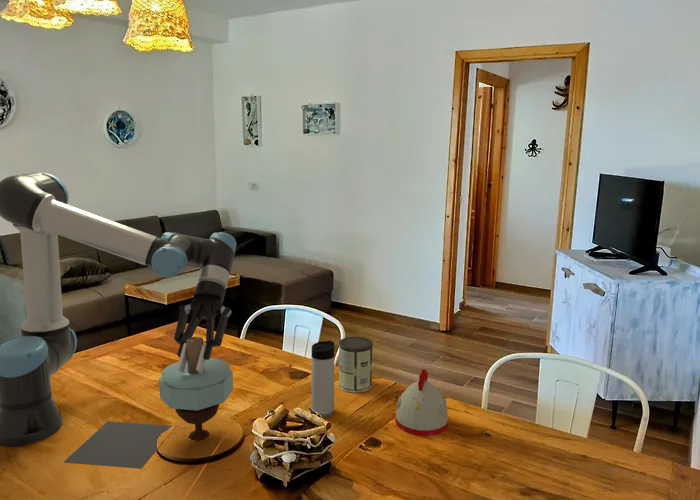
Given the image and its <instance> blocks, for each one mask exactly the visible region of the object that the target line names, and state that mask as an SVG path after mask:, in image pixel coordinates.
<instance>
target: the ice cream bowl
mask: <svg viewBox="0 0 700 500" xmlns="http://www.w3.org/2000/svg"><path fill="white" fill-rule="evenodd" d="M219 406H220V404H217V405H214V406H211V407H207V408H204V409H201V410H185V409H174V410H175V413H176V415H177V416H178V417H179V418H181V419H182V420H183V421H184V422H185V423H187V424H191V425H194V429H195V430H193V431H191V432H190V433H189V434H190V435H189V434H188V437H189V438H190V439H191V440H190V439H189V438H188V439H189V440H190V441H192V440H195V441H194V442H199V441H200V440H201V441H204V439H205V438H206V439H208V438H209V437H210V435H209V433H210V432H209V431H208V430H207V429H203V424H204V423H206V422H208V421H209V420H211V419H213V418H214V416H215V415H217V413H218V410H219ZM208 436H209V437H208ZM207 437H208V438H207ZM206 439H205V440H206ZM201 441H200V442H201Z"/></svg>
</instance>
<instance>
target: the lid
mask: <svg viewBox="0 0 700 500" xmlns="http://www.w3.org/2000/svg"><path fill="white" fill-rule="evenodd" d="M202 344H204V338H203V337H200V336H192V338H189V339H187V340H186V346H187V362H186V366H185V370H184V373H181V372H180V371H179V370H178V369H177V367H178V363H179V361H176V362H174V363H172V364H169V365H168V366H166V367H165V368H164V369H163V370H162V372H161V376H160V378H158V387H159V398H160V400H161V401H162V402H163V403H164V404H165V405H166V406H167V407H168V408H169V409H170V410H171V409H173V410H175V409H185V410H201V409H204V408H207V407H211V406H214V405H217V404H219V405H221V404H224V403H225V402H226V401H227V399H228V397H230V395H231V394H232V392H233V391H234V376H233V374H234V372H233V370H231V369H230V365H229V364H228V363H227V362H226V361H224V360H221V359H218V358H214V357H213V358H212V357H210V359H209V360H206V361H205V365H204V369H203V373H202V374H199V373H198V371H197V370H196V367H197V363H198V360H199V356H200V352H201V348H202Z"/></svg>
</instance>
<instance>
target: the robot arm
mask: <svg viewBox="0 0 700 500" xmlns="http://www.w3.org/2000/svg"><path fill="white" fill-rule="evenodd" d="M69 198H70V197H69V191H68V188H67V187H66V185H65V183H64V182H63V181H62V180H60V178H58V177H57V176H55V175H53V174H50V173H46V172H38V171H36V172H29V173H24V174H15V175H11V176H7V177H5V178H3V179H1V180H0V217H1V218H2V219H4V220H5V221H7V222H8V223H11V224H12V226H13V227H14V228H15V229H16V230H18V232H19V233H20V245H21V258H22V259H21V260H22V271H23V272H22V273H23V284H24V297H25V298H24V299H25V300H24V301H25V312H26V319H25V321H23V323H22V324H21V325H20V332H21V333H20V334H21V336H20V337H16V338H13V340H12V339H11V340H8V341H5V342H4V343H2V344H0V445H2V446H7V447H17V446H26V445H28V444H33V443H36V442H39V441H42V440H44V439H46V438H49V437H51V436H53V435H54V434H56V433H57V432H58V431H59V430H60V429H61V428H62V426H63V417H62V413H61V412H60V411H59V409H58V406H57V404H56V402H55V400H54V398H53V395H52V393H53V392H52V383H51V382H52V381H51V377H52V376H53V375H55V373H56V372H58V370H60V369H61V368H62V367H63V366H65V365H66V364H67V363H68V362H69V361H70V360H71V359H72V356H73V355H74V353H75V352H76V349H77V344H78V341H77V340H78V339H77V335H76V333H75V331H74V330H73V329H71V326H70V320H69V319H68V318H67V317H66V316H64V314H63V313H64V312H63V299H62V298H63V297H62V284H61V283H62V282H61V267H60V264H61V263H60V252H59V251H60V250H59V248H60V247H59V236H61V237H63V238H67V239H69V240H71V241H75V242H78V243H80V244H84V245H87V246H88V247H92V248H95V249H97V250H101V251H104V252H105V253H109V254H112V255H115V256H118V257H121V258H123V259H126V260H129V261H132V262H133V263H134V262H135V263H138V264H141V265H144V266H146V267H149V268H151V269H152V270H153V271H154V272H155V273H156V274H157V275H159V276H160V277H163V278H173V277H175V276H177V275H179V274H180V273H182V272H183V271H185V269H186V267H187V266H188V265H191V266H193V265H194V266H199V267H201V270H200V272H199V273H200V274H199V276H198V280H197V284H196V287H195V291H194V294H193V299H192V300H191V301H190V303H189V304H186V305H184V304H180V305H179V316H178V319H177V320H178V321H177V323H176V329H175V333H174V336H173V339H174V341H175V342H176V344H178V345H179V347H178V350H177V358H179V360H178V362H179V363H178V367H177V369H178V370H179V371H180V372H181V373H184V370H185V366H186V362H187V346H186V340H187V339H189V338H192V337H194V333H195V331H196V330H197V328H198V326H199V324H200V323H201V321H202V320H206V333H205V334H206V335H205V340H204V343H206V344H204V343H203V344H202V348H201V352H200V356H199V360H198V363H197V367H196V370H197V371H198V373H199V374H202V373H203V369H204V365H205V361H206V360H209V359H210V358H211V355H212V352H213V351H212V350H213V349H214V347H221V345H222V342H223V339H224V335H225V333H226V328H227V325H228V321H229V319H230V317H231V316H232V315H233V312H232V310H231V308H230V307H229V306H224V304H223V302H224V300H225V295H226V293H227V292H226V291H227V290H226V289H227V287H228V282H229V279H230V274H231V270H232V267H233V263H234V258H235V254H236V248H237V241H236V239H235V238H234V236H232V235H231V234H229V233H227V232H223V231H220V232H217V231H216V232H213V233H212V234H211V235H210V237H209V238H203V237H202V238H201V237H197V236H192V235H186V234H182V233H179V232H169V231H167V232H164V233H163V234H162V235H161V237H158V236H156V235H153V234H150V233H146V231H145V232H144V231H141V230H138V229H136V228H133V227H131V226H129V225H128V226H127V225H125V224H122V223H119V222H116V221H114V220H111V219H108V218H105V217H103V216H99V215H97V214H95V213H91V212H89V211H86V210H83V209H81V208H78V207H76V206H72V205H70V204H68V203H69ZM191 311H192V313H191V317H190V318H191V319H190V320H189V322H188V318H189V316H188V315H189V314H190V312H191ZM219 314H220V317H219V321H218V324H217V327H216V331H215V323H216V316H217V315H219ZM187 322H188V323H187Z"/></svg>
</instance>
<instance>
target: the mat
mask: <svg viewBox="0 0 700 500" xmlns="http://www.w3.org/2000/svg"><path fill="white" fill-rule="evenodd" d="M172 426H173V425H165V424H164V425H162V424H152V423H151V424H150V423H149V424H148V423H138V422H137V423H136V422H120V421H111V420H110V421H106V422H105V423H104V424H103V425H101V427H99V429H97V431H95V432H94V433H93V434H92V435H91V436H90V437H89V438H88V439H87V440H85V442H83V443H82V444H81V445H80V446H79V447H78V448H77V449H76V450H74V452H72V453H71V454H70V455H69V456H68V457H67V458H66V459H65V460H64V461H63V463H66V464H68V463H69V464H79V465H81V464H82V465H92V466H102V467H104V466H105V467H117V468H130V469H143V468H144V467H145V465H146V464H147V463H148V461H149V460H150V459H151V458H152V457H153V456H154V454H155V453H157V451H158V449H159V448H157V439H158V438H159V436H161V435H160V434H162V433H163V432H165V431H167V430H168V429H169V428H170V427H172Z"/></svg>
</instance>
